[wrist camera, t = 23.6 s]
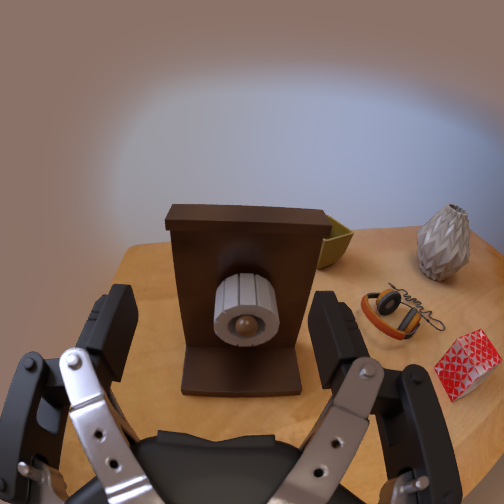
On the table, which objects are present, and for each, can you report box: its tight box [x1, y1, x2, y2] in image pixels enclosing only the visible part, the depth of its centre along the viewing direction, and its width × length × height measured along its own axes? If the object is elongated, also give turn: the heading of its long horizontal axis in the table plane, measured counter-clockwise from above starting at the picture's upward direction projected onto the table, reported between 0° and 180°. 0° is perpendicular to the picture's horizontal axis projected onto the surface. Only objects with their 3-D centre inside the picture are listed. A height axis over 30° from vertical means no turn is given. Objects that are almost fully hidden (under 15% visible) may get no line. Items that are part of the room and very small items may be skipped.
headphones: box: [361, 283, 445, 340], centre depth 44 cm, size 17×5×20 cm
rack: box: [165, 204, 332, 397], centre depth 31 cm, size 16×10×23 cm, turn 93°
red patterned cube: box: [434, 329, 503, 402], centre depth 31 cm, size 8×8×8 cm
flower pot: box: [316, 215, 354, 269], centre depth 58 cm, size 9×9×9 cm
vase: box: [417, 203, 470, 281], centre depth 55 cm, size 16×16×18 cm
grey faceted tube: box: [214, 273, 280, 346], centre depth 29 cm, size 7×5×7 cm
